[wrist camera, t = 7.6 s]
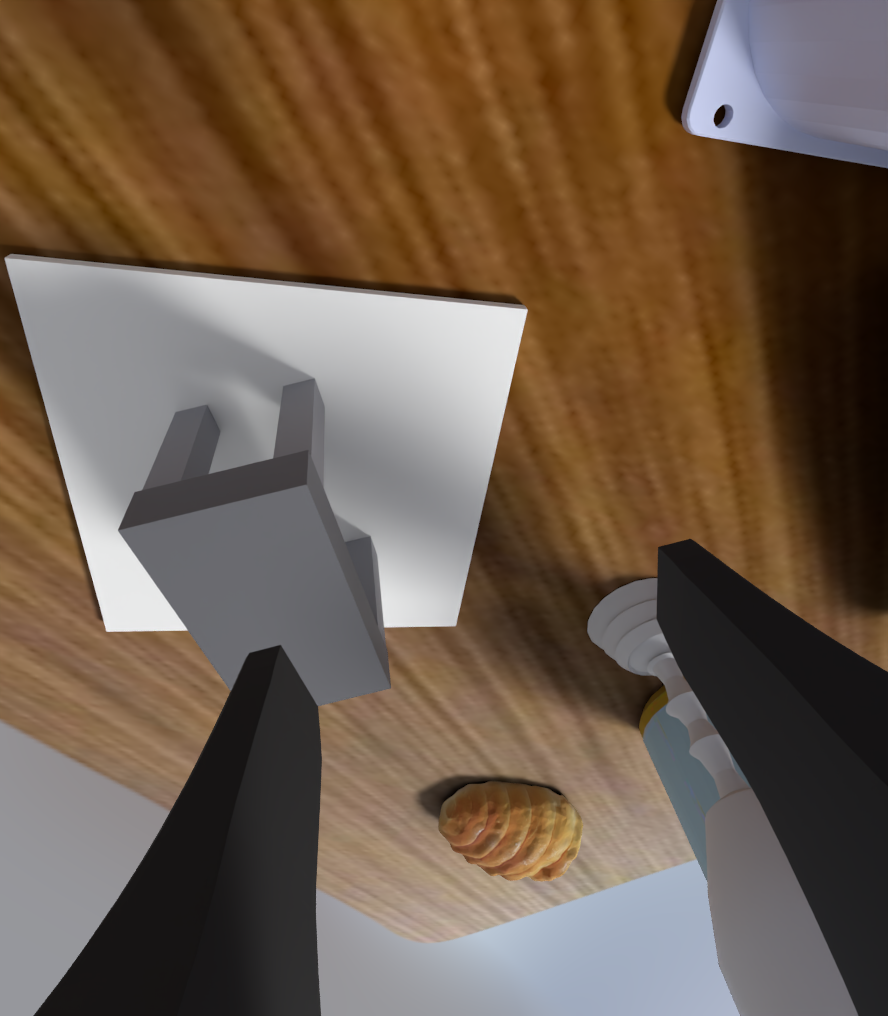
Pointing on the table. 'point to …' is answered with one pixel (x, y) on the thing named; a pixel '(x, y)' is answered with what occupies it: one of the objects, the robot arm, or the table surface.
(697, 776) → the bottle
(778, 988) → the chalice
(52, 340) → the mat
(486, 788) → the pastry
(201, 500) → the stool
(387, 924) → the table surface
